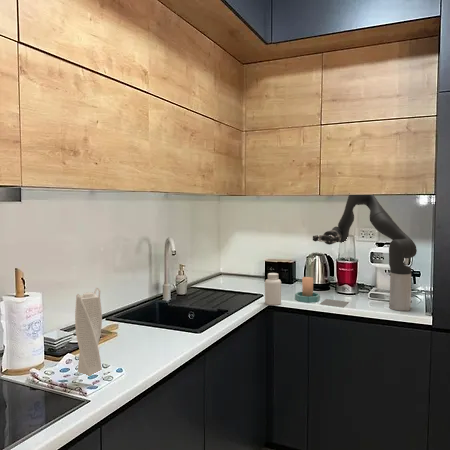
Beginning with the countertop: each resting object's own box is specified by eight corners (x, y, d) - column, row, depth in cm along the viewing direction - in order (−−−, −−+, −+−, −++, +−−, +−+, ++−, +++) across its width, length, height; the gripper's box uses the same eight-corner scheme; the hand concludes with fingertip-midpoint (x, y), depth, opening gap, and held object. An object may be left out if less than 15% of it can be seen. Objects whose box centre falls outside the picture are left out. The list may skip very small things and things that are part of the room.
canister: (314, 298, 223) (314, 277, 222) (310, 300, 218) (311, 279, 217) (304, 297, 226) (304, 276, 225) (300, 299, 221) (300, 278, 220)
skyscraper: (110, 377, 131) (108, 285, 129) (95, 388, 123) (93, 291, 121) (85, 374, 133) (83, 284, 131) (69, 385, 125) (67, 289, 123)
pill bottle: (261, 303, 216) (261, 273, 215) (271, 300, 222) (272, 271, 221) (274, 306, 211) (274, 275, 209) (284, 303, 216) (284, 273, 215)
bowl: (322, 299, 224) (322, 293, 224) (314, 304, 214) (315, 298, 214) (300, 296, 230) (300, 290, 230) (292, 301, 220) (292, 295, 220)
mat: (349, 303, 217) (349, 301, 217) (343, 308, 207) (343, 307, 207) (326, 300, 223) (326, 298, 223) (319, 305, 213) (319, 304, 213)
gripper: (319, 229, 248) (309, 232, 234) (344, 231, 241) (336, 233, 227) (318, 243, 248) (309, 246, 234) (343, 244, 241) (335, 247, 227)
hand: (322, 239), depth 230 cm, fingers open, 8 cm apart
